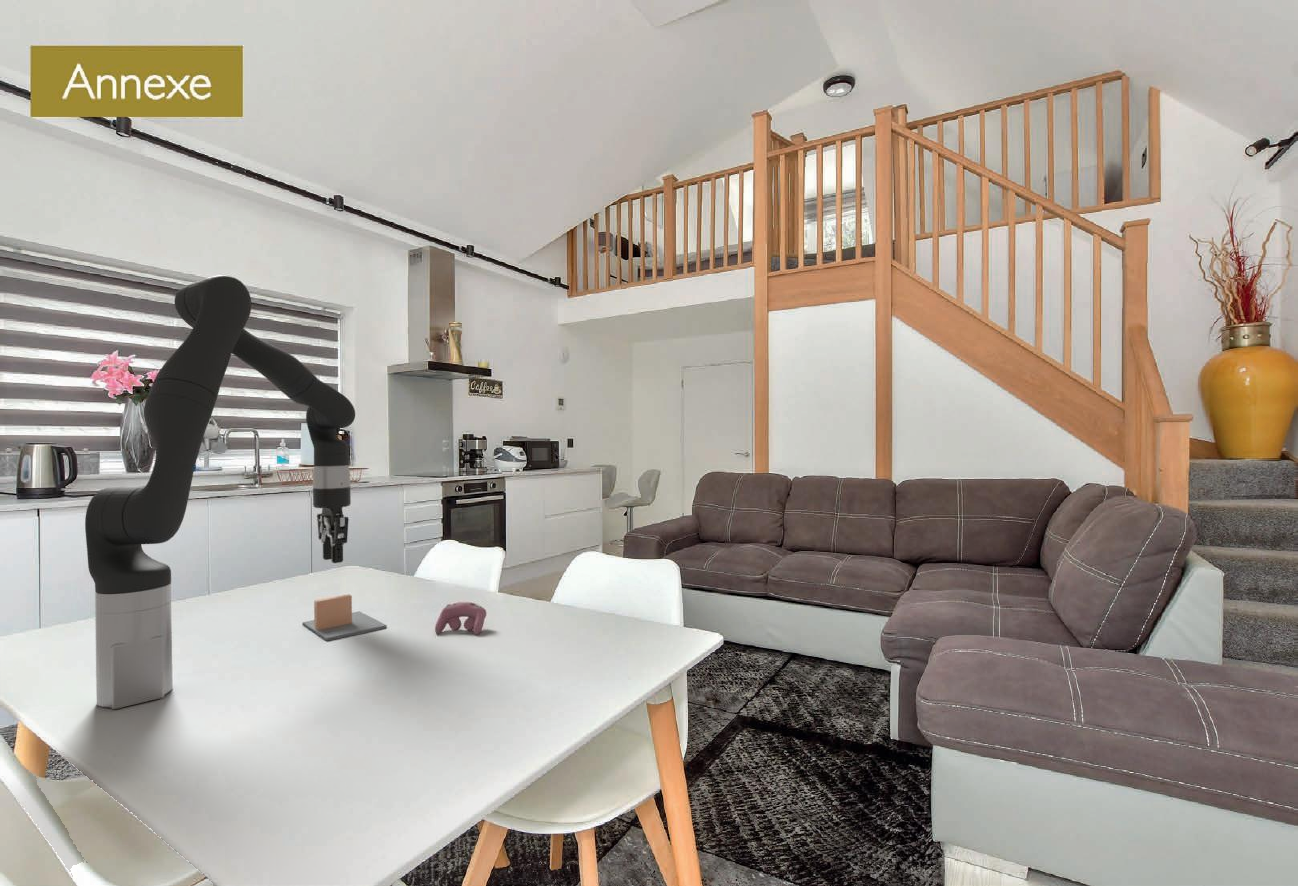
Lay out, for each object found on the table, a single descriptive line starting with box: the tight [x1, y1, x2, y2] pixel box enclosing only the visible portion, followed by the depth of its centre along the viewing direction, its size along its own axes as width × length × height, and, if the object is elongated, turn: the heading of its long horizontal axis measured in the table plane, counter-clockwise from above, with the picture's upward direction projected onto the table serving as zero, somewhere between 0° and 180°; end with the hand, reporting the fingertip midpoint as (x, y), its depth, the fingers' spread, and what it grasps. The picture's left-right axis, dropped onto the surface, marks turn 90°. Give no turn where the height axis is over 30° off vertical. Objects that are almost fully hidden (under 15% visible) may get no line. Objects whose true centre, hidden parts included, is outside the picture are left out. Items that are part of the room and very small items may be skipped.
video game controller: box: [434, 601, 487, 636], centre depth 129 cm, size 10×5×7 cm, turn 85°
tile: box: [313, 594, 353, 630], centre depth 131 cm, size 2×6×7 cm
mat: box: [302, 611, 387, 642], centre depth 132 cm, size 16×12×1 cm
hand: (332, 560), depth 137 cm, fingers open, 5 cm apart
